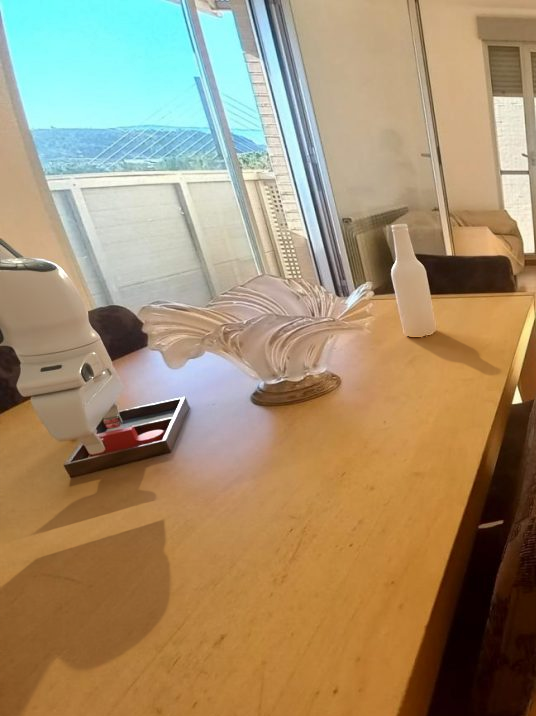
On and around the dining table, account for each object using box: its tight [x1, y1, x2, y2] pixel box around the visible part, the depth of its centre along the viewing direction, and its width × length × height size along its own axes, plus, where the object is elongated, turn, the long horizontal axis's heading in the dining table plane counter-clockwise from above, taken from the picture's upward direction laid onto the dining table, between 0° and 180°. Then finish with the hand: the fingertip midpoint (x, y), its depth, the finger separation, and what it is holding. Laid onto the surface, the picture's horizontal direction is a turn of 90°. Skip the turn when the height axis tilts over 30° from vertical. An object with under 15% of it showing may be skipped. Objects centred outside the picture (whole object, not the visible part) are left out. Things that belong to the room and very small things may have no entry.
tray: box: [62, 396, 190, 479], centre depth 85 cm, size 12×20×2 cm, turn 33°
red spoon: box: [85, 426, 165, 457], centre depth 81 cm, size 9×4×3 cm, turn 123°
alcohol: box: [390, 223, 437, 337], centre depth 129 cm, size 9×9×30 cm
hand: (107, 438), depth 79 cm, fingers open, 8 cm apart
